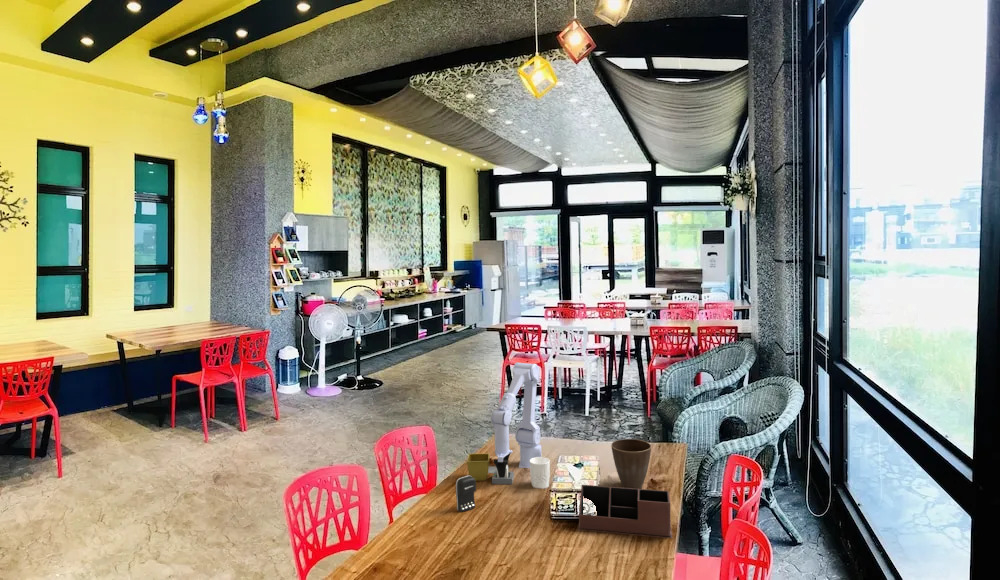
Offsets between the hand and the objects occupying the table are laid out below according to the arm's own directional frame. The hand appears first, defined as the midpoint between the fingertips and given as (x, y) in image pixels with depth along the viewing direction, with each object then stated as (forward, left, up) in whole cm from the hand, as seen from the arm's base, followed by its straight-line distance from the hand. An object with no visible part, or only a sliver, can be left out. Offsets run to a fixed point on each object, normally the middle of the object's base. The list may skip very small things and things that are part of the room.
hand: (503, 473), depth 223 cm
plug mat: (+4, -11, -3) cm, 12 cm away
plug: (0, 0, -3) cm, 3 cm away
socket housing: (0, 0, -3) cm, 3 cm away
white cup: (-15, +4, -3) cm, 16 cm away
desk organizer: (-44, +36, -4) cm, 57 cm away
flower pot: (+10, -2, -3) cm, 11 cm away
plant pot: (-50, +3, -3) cm, 50 cm away
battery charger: (+10, +26, -3) cm, 28 cm away
